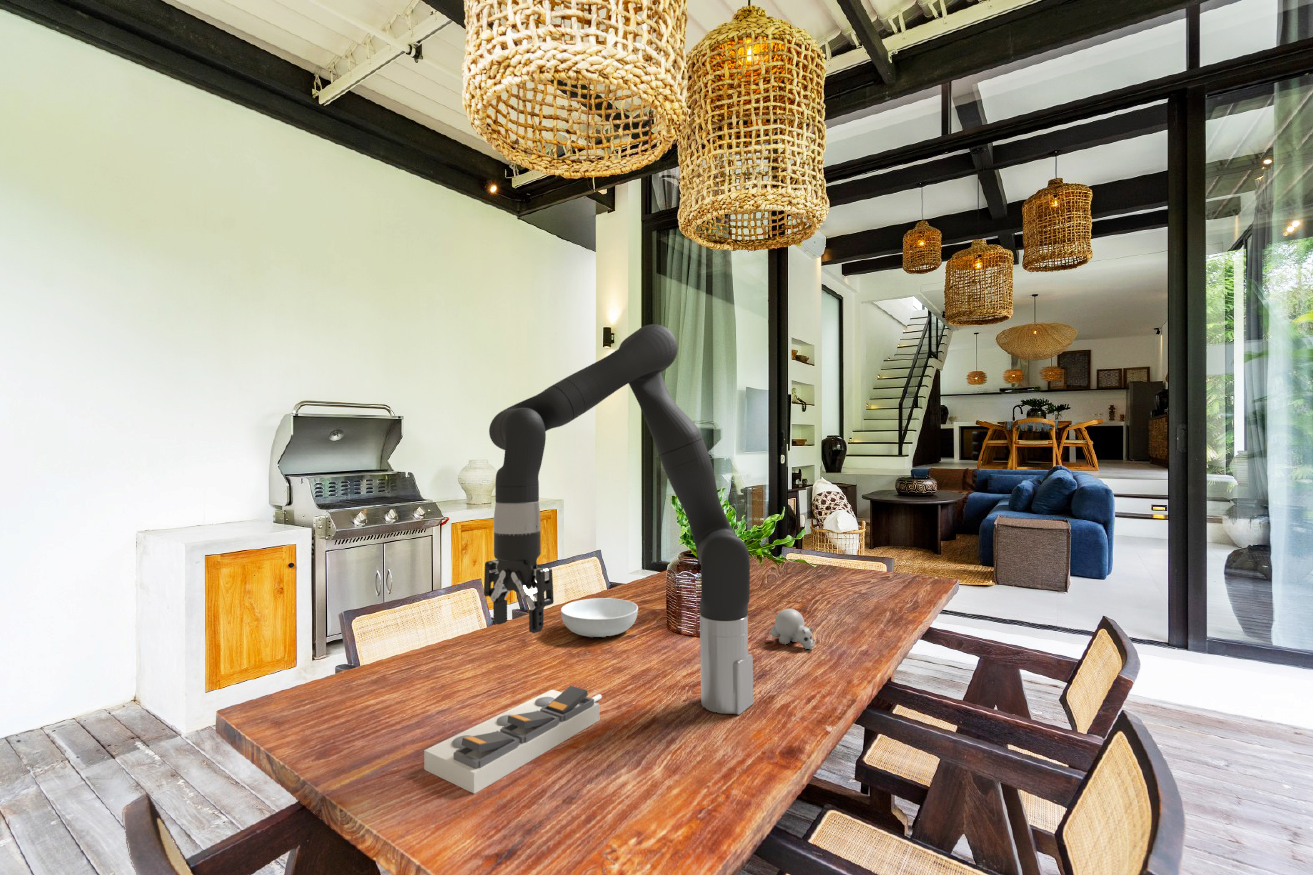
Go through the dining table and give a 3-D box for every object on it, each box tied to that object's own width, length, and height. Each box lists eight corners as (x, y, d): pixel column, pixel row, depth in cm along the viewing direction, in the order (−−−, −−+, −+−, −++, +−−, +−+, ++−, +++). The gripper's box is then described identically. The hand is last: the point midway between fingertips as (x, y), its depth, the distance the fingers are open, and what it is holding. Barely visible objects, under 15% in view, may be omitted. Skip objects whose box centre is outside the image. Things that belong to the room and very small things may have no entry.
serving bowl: (566, 649, 150) (565, 621, 150) (557, 625, 170) (556, 601, 170) (646, 640, 155) (646, 613, 155) (628, 618, 175) (628, 595, 175)
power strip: (578, 691, 123) (578, 672, 123) (624, 705, 116) (624, 684, 116) (424, 769, 94) (424, 743, 94) (474, 793, 87) (474, 765, 87)
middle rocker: (535, 717, 104) (536, 710, 104) (551, 723, 101) (552, 716, 102) (507, 722, 99) (508, 714, 99) (524, 728, 96) (525, 720, 97)
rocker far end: (493, 738, 96) (495, 731, 97) (510, 745, 94) (512, 737, 94) (461, 744, 91) (462, 737, 92) (478, 752, 89) (480, 744, 89)
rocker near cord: (571, 690, 111) (570, 684, 111) (587, 695, 109) (586, 689, 109) (547, 711, 106) (546, 705, 106) (564, 716, 104) (563, 710, 104)
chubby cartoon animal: (797, 664, 144) (806, 634, 141) (765, 633, 154) (773, 605, 151) (818, 657, 148) (827, 628, 145) (785, 628, 157) (793, 600, 155)
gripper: (564, 529, 98) (565, 629, 98) (506, 523, 107) (506, 615, 106) (530, 535, 92) (530, 641, 92) (471, 528, 100) (471, 625, 100)
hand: (517, 627), depth 99 cm, fingers open, 8 cm apart
